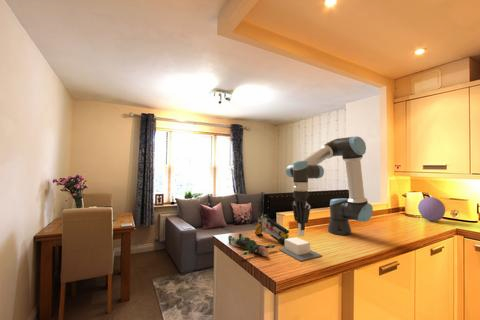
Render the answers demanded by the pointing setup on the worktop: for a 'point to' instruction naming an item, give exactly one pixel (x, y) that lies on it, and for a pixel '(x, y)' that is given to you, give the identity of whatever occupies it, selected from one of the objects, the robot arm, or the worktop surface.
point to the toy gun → (271, 229)
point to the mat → (302, 256)
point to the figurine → (250, 245)
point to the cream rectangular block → (297, 245)
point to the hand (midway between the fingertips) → (301, 235)
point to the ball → (431, 208)
